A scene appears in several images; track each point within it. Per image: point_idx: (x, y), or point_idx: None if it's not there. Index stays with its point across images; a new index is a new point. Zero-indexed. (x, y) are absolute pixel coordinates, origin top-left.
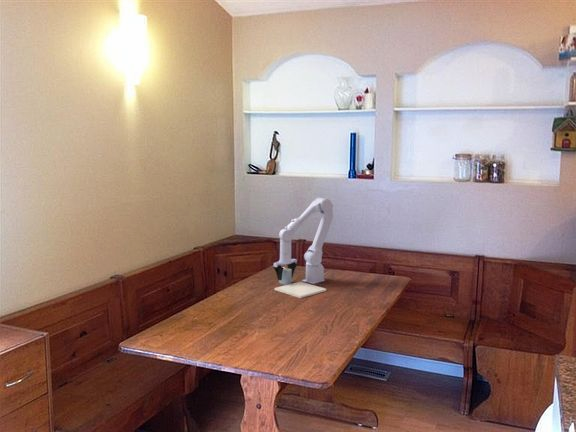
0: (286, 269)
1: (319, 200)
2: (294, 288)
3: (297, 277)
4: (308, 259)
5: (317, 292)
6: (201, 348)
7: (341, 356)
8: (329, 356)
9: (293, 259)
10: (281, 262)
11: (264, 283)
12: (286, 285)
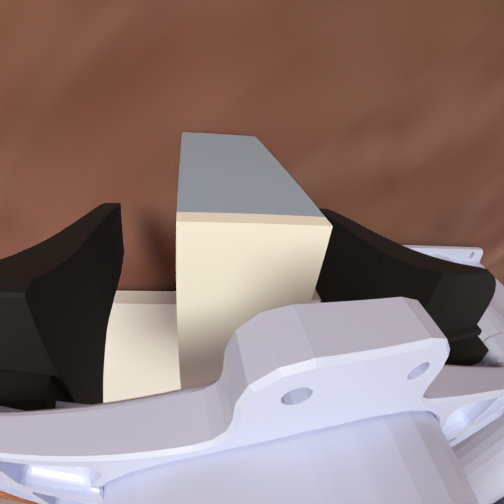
0: (207, 376)
1: None
2: (125, 384)
3: (466, 141)
4: (477, 454)
5: None
6: None
7: (21, 501)
8: (7, 495)
9: (493, 413)
10: (103, 496)
11: (55, 26)
12: (120, 312)
